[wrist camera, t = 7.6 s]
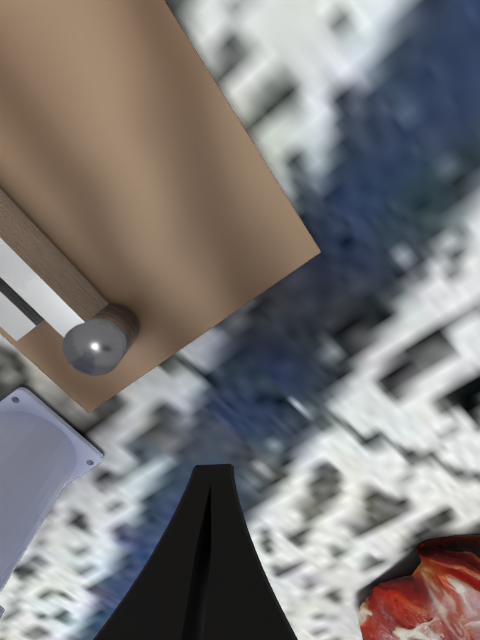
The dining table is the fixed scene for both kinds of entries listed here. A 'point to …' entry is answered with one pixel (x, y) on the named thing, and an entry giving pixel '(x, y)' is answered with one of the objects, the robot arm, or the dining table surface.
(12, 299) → the fixed tong arm
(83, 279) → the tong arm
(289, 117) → the dining table surface
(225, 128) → the walnut board
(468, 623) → the meat
